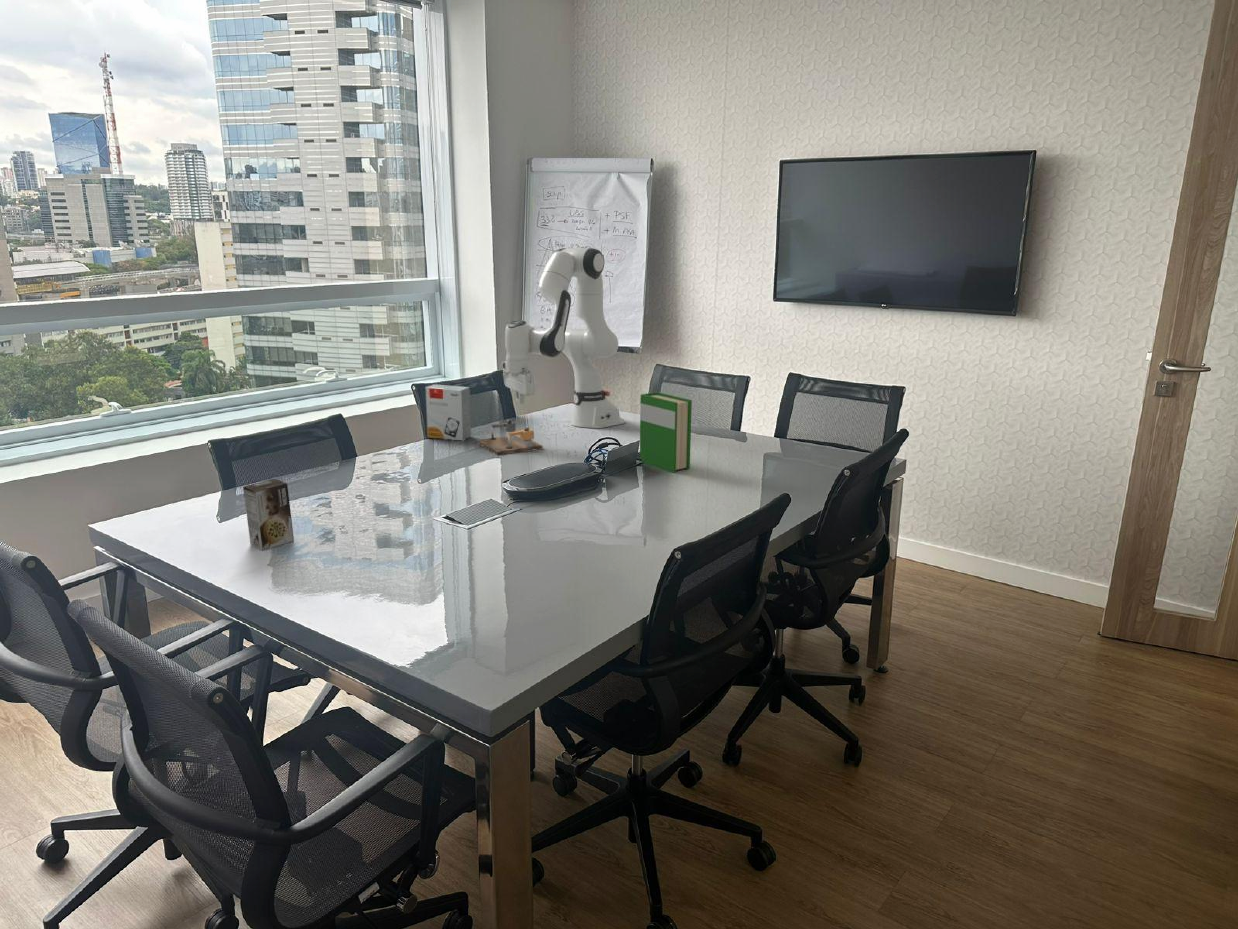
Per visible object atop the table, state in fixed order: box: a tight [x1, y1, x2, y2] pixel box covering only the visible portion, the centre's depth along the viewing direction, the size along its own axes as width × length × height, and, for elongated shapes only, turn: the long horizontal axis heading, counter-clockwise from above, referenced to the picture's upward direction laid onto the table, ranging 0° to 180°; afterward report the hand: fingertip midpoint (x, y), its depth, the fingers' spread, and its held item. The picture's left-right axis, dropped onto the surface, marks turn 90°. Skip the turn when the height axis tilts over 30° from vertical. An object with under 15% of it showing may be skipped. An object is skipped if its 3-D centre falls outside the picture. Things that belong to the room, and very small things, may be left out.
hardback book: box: [639, 391, 693, 474], centre depth 295 cm, size 18×7×24 cm, turn 39°
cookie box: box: [242, 478, 295, 552], centre depth 223 cm, size 9×6×16 cm
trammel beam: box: [490, 419, 533, 447], centre depth 323 cm, size 9×19×6 cm, turn 30°
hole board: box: [475, 435, 543, 456], centre depth 323 cm, size 18×20×1 cm
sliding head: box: [508, 427, 535, 447], centre depth 317 cm, size 9×4×6 cm, turn 120°
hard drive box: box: [424, 383, 472, 442], centre depth 333 cm, size 16×8×20 cm, turn 73°
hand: (520, 402), depth 320 cm, fingers closed
